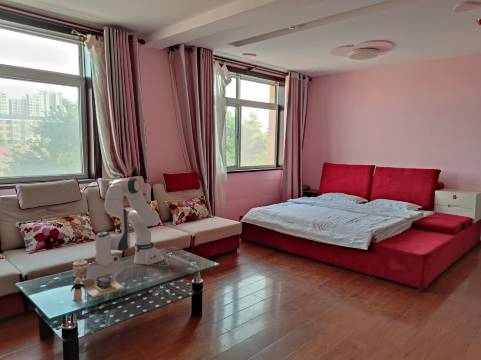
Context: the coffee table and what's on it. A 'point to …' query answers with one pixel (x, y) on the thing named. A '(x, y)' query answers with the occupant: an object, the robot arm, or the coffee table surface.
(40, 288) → the coffee table surface
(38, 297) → the coffee table surface
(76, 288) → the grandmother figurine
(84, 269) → the teacup with lid
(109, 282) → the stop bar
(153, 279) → the coffee table surface
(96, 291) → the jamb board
